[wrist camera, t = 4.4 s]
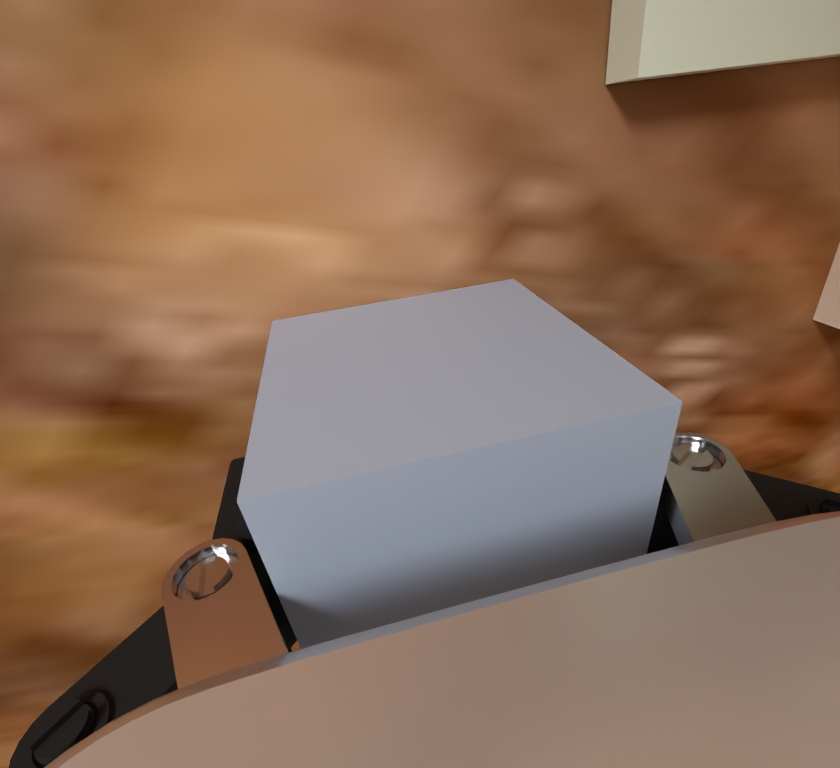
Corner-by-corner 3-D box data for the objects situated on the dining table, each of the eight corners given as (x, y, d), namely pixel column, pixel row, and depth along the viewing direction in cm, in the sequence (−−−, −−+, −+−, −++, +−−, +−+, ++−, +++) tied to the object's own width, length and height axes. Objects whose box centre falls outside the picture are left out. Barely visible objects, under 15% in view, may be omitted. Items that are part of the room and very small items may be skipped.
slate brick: (271, 320, 10) (236, 501, 5) (513, 279, 11) (682, 401, 6) (325, 503, 14) (336, 728, 8) (513, 460, 14) (625, 643, 9)
